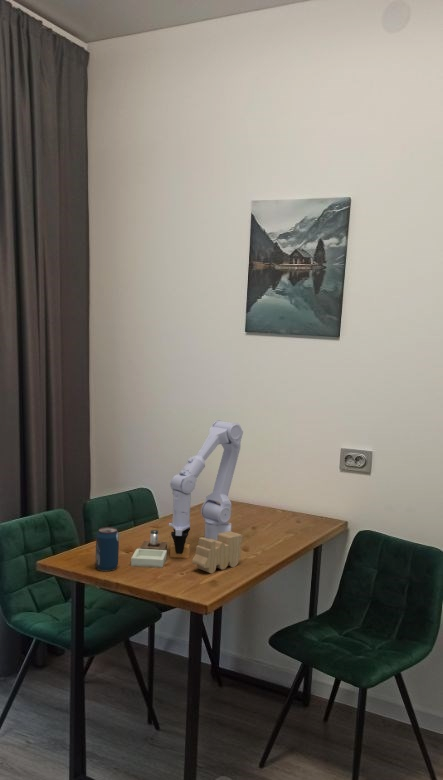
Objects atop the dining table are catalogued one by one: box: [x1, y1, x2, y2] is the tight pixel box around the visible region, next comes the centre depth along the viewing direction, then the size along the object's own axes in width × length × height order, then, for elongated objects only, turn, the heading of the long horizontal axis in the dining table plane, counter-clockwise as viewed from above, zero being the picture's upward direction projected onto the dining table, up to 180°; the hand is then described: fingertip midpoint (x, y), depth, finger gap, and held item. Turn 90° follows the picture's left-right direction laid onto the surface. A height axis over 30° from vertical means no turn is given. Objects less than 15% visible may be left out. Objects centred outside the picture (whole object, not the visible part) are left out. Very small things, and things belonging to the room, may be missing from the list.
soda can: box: [94, 526, 120, 572], centre depth 198 cm, size 7×7×12 cm
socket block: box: [139, 540, 168, 551], centre depth 216 cm, size 8×8×2 cm
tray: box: [130, 548, 168, 569], centre depth 206 cm, size 10×10×2 cm
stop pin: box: [149, 529, 159, 547], centre depth 215 cm, size 3×3×7 cm
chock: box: [169, 542, 191, 559], centre depth 213 cm, size 6×4×4 cm, turn 87°
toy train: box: [191, 530, 244, 575], centre depth 203 cm, size 6×17×10 cm, turn 135°
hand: (179, 551), depth 213 cm, fingers closed on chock, 4 cm apart
